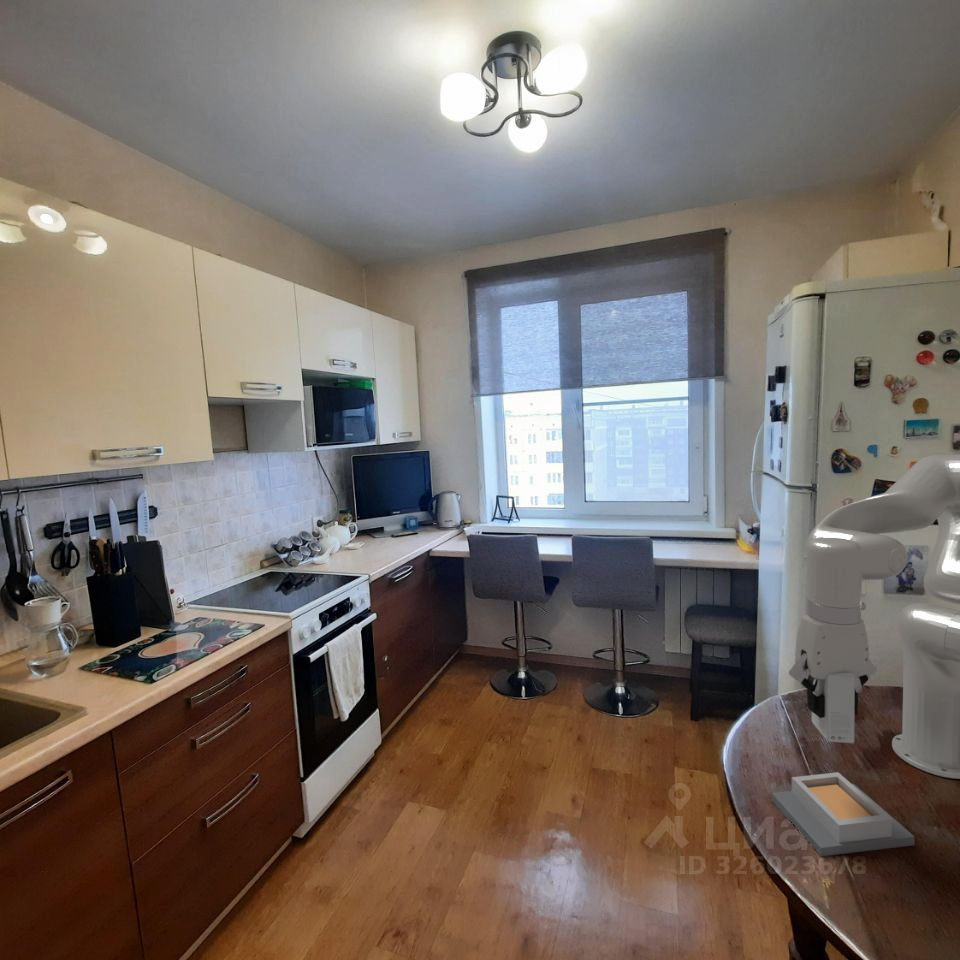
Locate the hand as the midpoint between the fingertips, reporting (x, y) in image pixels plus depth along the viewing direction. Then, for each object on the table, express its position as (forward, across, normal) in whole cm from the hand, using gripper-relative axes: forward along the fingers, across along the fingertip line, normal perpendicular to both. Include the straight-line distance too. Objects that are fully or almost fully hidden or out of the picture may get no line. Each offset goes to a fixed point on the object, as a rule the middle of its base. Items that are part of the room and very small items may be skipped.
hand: (832, 711), depth 84 cm
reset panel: (+20, 0, +2) cm, 20 cm away
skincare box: (+4, 0, 0) cm, 4 cm away
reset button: (+18, 0, +2) cm, 18 cm away
